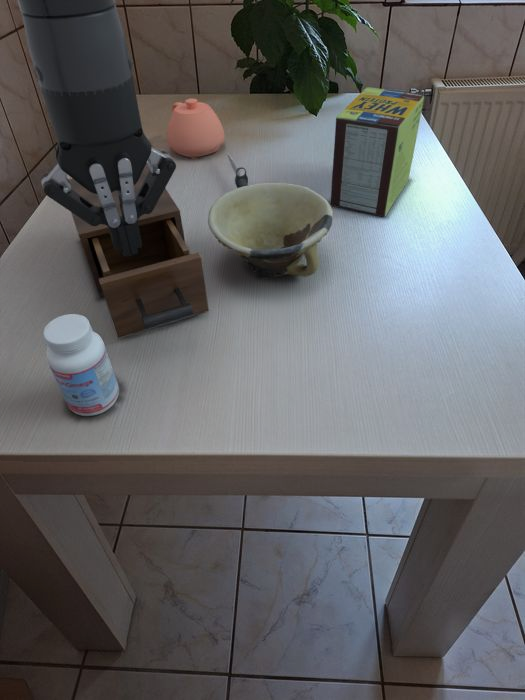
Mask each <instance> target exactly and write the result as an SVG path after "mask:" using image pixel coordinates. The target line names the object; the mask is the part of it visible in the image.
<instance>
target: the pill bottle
mask: <svg viewBox="0 0 525 700" xmlns="http://www.w3.org/2000/svg"><path fill="white" fill-rule="evenodd" d="M42 335H43V338H44V340H45V343H46V346H47V349H46V354H45V357H46V358H45V359H46V362H47V364H48V366H49V369H50V370H51V373H52V375H53V378H54V379H55V382H56V383H57V385H58V388H59V390H60V392H61V394H62V396H63V398H64V400H65V403H66V404H67V406H68V408H69V409H70V411H71V412H73V413H74V414H76V415H77V416H78V415H79V416H82V417H92V416H98V415H101V414H102V413H104V412H106V411H108V410H109V409H111V407H113V405H114V404H115V403H116V401H117V399H118V397H119V394H120V385H119V383H118V380H117V377H116V375H115V372H114V369H113V366H112V362H111V360H110V357H109V354H108V350H107V348H106V346H105V343H104V340H103V339H102V337H101V335H99V334H98V333H97V332H96V331H94V330H93V327H92V326H91V323H90V321H89V319H88V318H87V317H86V316H84V315H81V314H78V313H69V314H63V315H60V316H58V317H55V318H54V319H52V320H51V321H50V322H48V323H47V324H46V325H45V327H44V329H43V334H42Z"/></svg>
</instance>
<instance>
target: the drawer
mask: <svg viewBox="0 0 525 700" xmlns="http://www.w3.org/2000/svg"><path fill="white" fill-rule="evenodd" d="M138 227H139V231H140V236H141V240H142V246H141V248H138V249H137V251H138V254H135V255H131V256H127V257H124V255H123V252H121V253H118V252H117V251H116V250H115V247H114V245H113V242H112V238H111V235H110V233H107V234H103V235H99V236H95V237H91V241H92V244H93V248H94V251H95V254H96V257H97V260H98V263H99V266H100V270H101V272H102V275H103V278H99V282H100V285H101V288H102V291H103V294H104V300H105V303H106V306H107V309H108V312H109V316H110V318H111V321H112V324H113V327H114V330H115V333H116V337H117V339H121V338H123V337H127V336H130V335H134V334H137V333H140V332H144V331H146V330H150V329H154V328H158V327H160V326H163V325H168V324H170V323H173V322H174V323H175V322H177V321H180V320H183V319H187V318H190V317H194V316H196V315H200V314H204V313H208V312H209V309H210V308H209V303H208V294H207V288H206V281H205V275H204V266H203V260H202V256H201V254H200V252H199V251H198V252H194V253H191V252H190V249H189V247H188V246H187V244H186V241H185V242H184V241H183V239H182V237H181V236H180V234H179V232H178V231H177V229H176V227H175V226H174V224H173V222H172V221H171V219H170V218H169V219H165V220H161V221H157V222H153V223H149V224H144V225H140V226H138Z"/></svg>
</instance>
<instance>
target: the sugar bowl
mask: <svg viewBox="0 0 525 700" xmlns="http://www.w3.org/2000/svg"><path fill="white" fill-rule="evenodd" d="M184 101H185V102H184V103H183V102H180V101H177V102H174V103H173V105H172V107H171V110H172V111H171V112H172V113H171V115H170V117H169V121H168V123H167V127H166V143H167V144H168V146H169V147H170V149H172V150H173V151H174V152H175V153H176V154H178V155H180V156H184V157H189V158H190V159H195V160H196V159H198V158H199V157H202V156H207V155H210V154H213V153H215V152H217V151H218V150H219V149H220V147H222V145H223V143H224V142H225V138H226V137H225V131H224V127H223V124H222V122H221V119H220V118H219V116H218V115H217V113H216V112H215V111H214V110H213V108H212V107H211V106H210V105H209V104H208V103H206V102H201V101H198V99H196V98H187V99H185V100H184Z"/></svg>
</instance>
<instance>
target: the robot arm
mask: <svg viewBox="0 0 525 700" xmlns="http://www.w3.org/2000/svg"><path fill="white" fill-rule="evenodd" d="M16 2H17V4H18V7H19V11H20V12H21V13H20V14H21V18H22V21H23V27H24V33H25V38H26V42H27V47H28V51H29V54H30V55H29V56H30V58H31V62H32V64H33V71H34V74H35V77H36V79H37V81H38V84H39V87H40V90H41V94H42V97H43V100H44V103H45V107H46V110H47V114H48V116H49V117H48V118H49V120H50V123H51V127H52V129H53V133H54V136H55V139H56V142H57V148H56V153H55V159H56V162H57V164H55V166H54V167H53V169H52V170H51V171H49V173H43V175H42V176H41V177H40V181H41V182H40V183H41V187H42V190H43V192H44V194H45V196H47V197H48V198H50V199H51V200H53V201H54V202H56V203H57V204H58V205H60V206H61V207H63V208H65V209H66V210H68V211H69V212H70V213H71V212H72V213H73V214H75V215H76V216H78V217H79V218H81V219H82V220H84V221H85V222H87V223H88V224H90V225H91V226H98V225H99V224H104V225H107V226H108V227H109V231H110V235H111V238H112V242H113V245H114V247H115V250H116V251H117V252H118V253H121V252H123V255H124V257H127V256H131V255H135V254H138V251H137V249H138V248H141V246H142V240H141V236H140V231H139V227H138V219H139V217H140V216H142V215H143V214H150V213H151V212H152V211H153V209H154V208H155V206H156V204H157V202H158V200H159V198H160V197H161V195H162V193H163V191H164V189H165V188H166V187H167V185H168V183H169V182H170V180H171V179H172V177H173V174H174V172H175V171H176V169H177V164H176V162H175V161H174V159H173V158H172V156H171V155H170V153H168V151H165V150H161V151H159V150H158V149H156V148H154V147H152V144H151V141H150V140H149V139H148V137H147V136H146V135H145V133H144V129H143V125H142V120H141V114H140V109H139V104H138V98H137V93H136V88H135V83H134V76H133V72H132V65H133V64H132V59H131V58H132V57H131V56H130V53H129V49H128V44H127V40H126V35H125V32H124V28H123V26H122V22H121V19H120V16H119V12H118V9H117V4H116V0H16ZM146 163H148V165H147V166H148V169H149V170H150V171H149V173H148V174H147V176H146V178H145V180H144V182H143V184H142V186H141V188H140V190H139V192H138V194H137V196H136V198H135V192H134V185H135V184H136V183H137V182H138V180H139V178H140V176H141V173H142V171H143V169H144V167H145V165H146ZM68 176H69V177H70V179H74V180H75V181H77V182H78V183H79V184H80V185H82V186H83V187H84V188H85V189H87V190H88V191H90V192H92V193H94V194H97V196H98V199H99V201H100V204H101V207H99V206H95V205H93V204H92V203H90V202H89V201H88V200H86V199H85V198H83V197H82V196H81V195H79V194H78V193H76V192H75V191H74V190H72V186H71V183H70V181H69V178H68ZM114 191H117V194H118V200H119V206H120V210H121V213H122V216H119V215H118V213H117V210H116V207H115V203H114V200H113V197H112V194H111V193H112V192H114ZM72 213H71V214H72ZM120 218H121V219H120Z"/></svg>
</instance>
